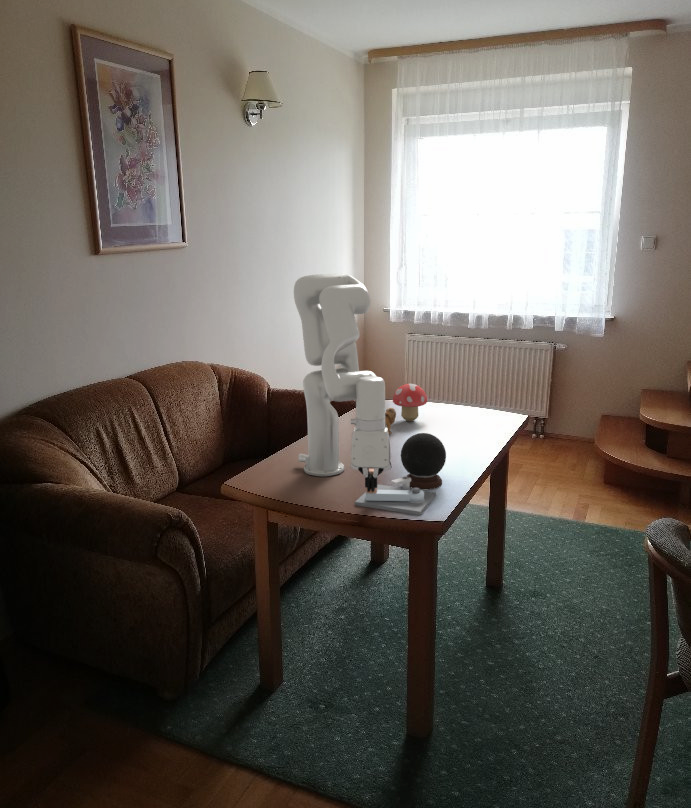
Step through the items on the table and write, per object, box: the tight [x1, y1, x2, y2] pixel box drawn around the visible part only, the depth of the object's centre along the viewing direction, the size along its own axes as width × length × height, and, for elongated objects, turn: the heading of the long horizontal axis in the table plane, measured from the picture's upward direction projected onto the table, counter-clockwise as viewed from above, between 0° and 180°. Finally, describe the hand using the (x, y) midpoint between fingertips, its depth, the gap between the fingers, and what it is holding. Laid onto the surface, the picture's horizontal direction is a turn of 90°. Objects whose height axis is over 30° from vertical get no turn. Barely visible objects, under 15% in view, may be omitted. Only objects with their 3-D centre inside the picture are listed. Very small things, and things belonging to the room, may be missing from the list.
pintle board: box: [354, 475, 437, 516], centre depth 186 cm, size 18×14×5 cm
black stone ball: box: [400, 432, 447, 490], centre depth 198 cm, size 13×13×15 cm
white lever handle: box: [365, 468, 425, 502], centre depth 183 cm, size 16×4×8 cm, turn 85°
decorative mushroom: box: [392, 383, 428, 422], centre depth 263 cm, size 13×13×15 cm
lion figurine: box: [385, 407, 397, 435], centre depth 248 cm, size 15×5×9 cm, turn 126°
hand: (371, 489), depth 181 cm, fingers closed
